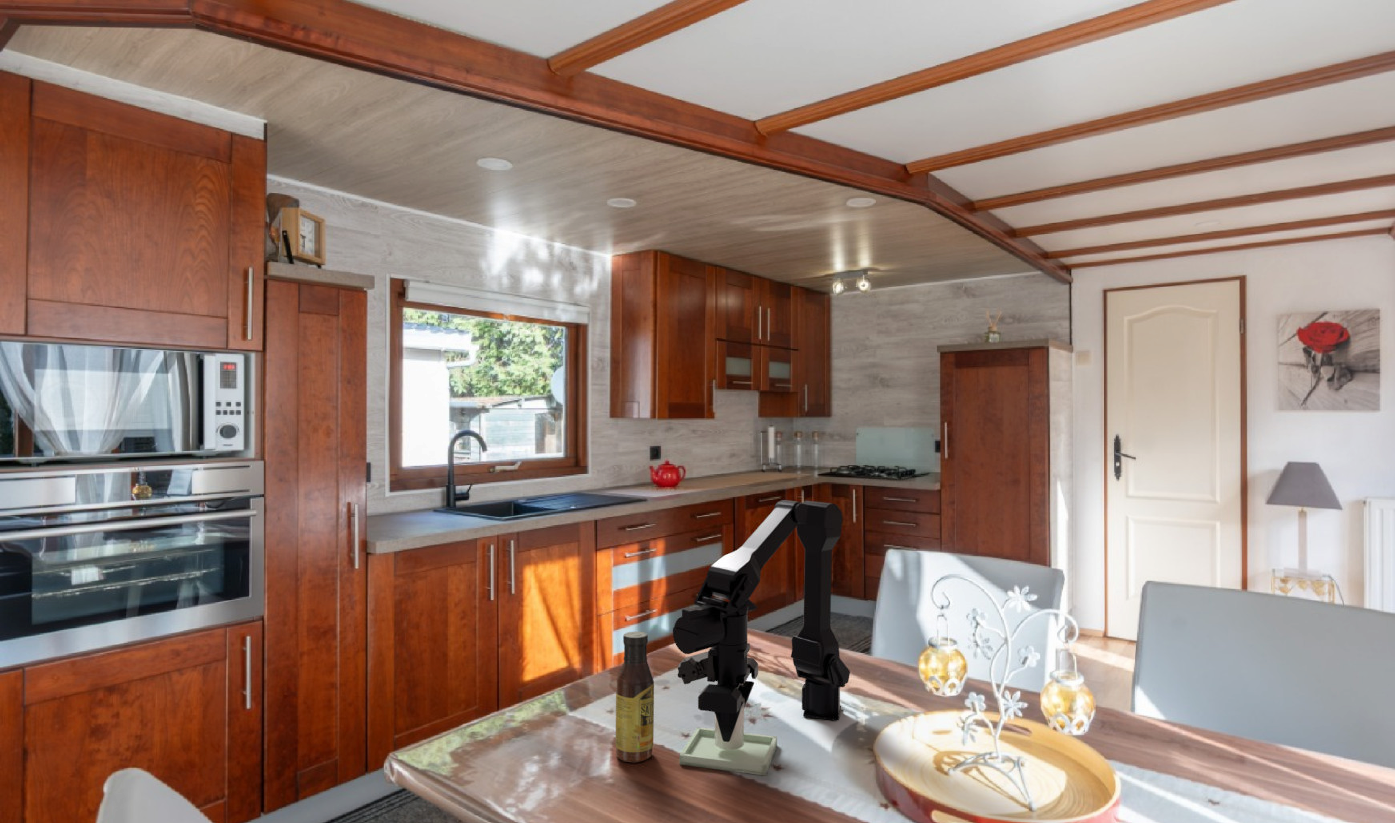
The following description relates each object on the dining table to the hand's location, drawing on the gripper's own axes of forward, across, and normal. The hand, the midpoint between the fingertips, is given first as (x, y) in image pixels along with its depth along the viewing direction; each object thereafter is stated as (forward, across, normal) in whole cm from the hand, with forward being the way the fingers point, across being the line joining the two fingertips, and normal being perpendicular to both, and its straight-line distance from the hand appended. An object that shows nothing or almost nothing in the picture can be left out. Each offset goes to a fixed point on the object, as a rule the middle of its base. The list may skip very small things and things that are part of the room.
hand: (729, 734), depth 125 cm
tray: (+3, 0, 0) cm, 3 cm away
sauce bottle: (+4, +4, -15) cm, 16 cm away
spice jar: (+1, 0, 0) cm, 1 cm away
